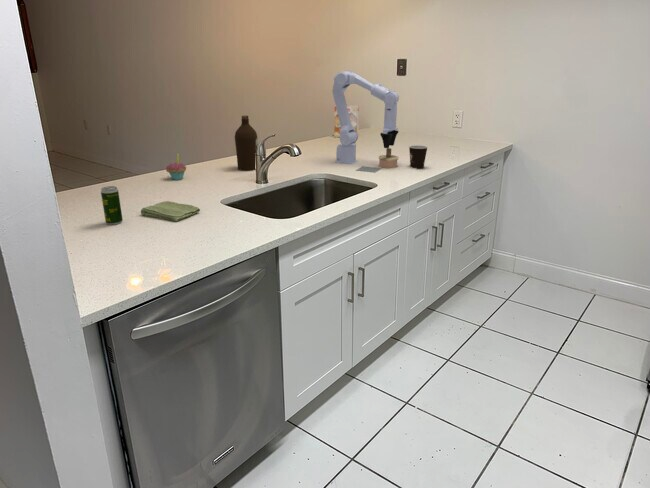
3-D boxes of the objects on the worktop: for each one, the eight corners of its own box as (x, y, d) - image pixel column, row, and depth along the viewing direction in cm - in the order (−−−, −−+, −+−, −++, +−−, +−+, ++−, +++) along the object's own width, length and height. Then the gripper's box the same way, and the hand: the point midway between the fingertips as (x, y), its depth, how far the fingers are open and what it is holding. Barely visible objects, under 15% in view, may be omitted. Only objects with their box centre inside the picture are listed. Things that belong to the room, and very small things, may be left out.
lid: (376, 159, 247) (376, 149, 245) (381, 156, 255) (381, 146, 253) (396, 161, 244) (396, 151, 242) (400, 157, 252) (400, 147, 250)
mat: (355, 171, 241) (355, 170, 241) (362, 167, 250) (362, 166, 250) (375, 173, 238) (375, 172, 237) (382, 169, 246) (382, 168, 246)
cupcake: (190, 177, 230) (188, 150, 226) (179, 181, 223) (177, 154, 218) (174, 175, 233) (171, 149, 228) (163, 180, 225) (160, 153, 221)
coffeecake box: (334, 137, 330) (334, 106, 323) (335, 135, 336) (335, 105, 329) (357, 138, 327) (357, 106, 320) (358, 136, 334) (359, 105, 327)
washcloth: (177, 224, 171) (176, 215, 170) (138, 216, 179) (137, 207, 178) (202, 213, 182) (202, 204, 181) (165, 206, 190) (164, 198, 189)
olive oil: (239, 171, 240) (235, 117, 231) (234, 167, 249) (231, 114, 240) (261, 170, 243) (258, 116, 234) (256, 165, 252) (253, 113, 243)
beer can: (117, 219, 175) (112, 185, 170) (126, 222, 172) (120, 187, 167) (102, 223, 171) (97, 188, 167) (111, 226, 168) (105, 191, 163)
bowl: (376, 167, 249) (377, 159, 247) (382, 164, 256) (382, 156, 255) (393, 169, 245) (394, 161, 244) (398, 165, 253) (399, 157, 251)
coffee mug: (425, 169, 245) (427, 149, 241) (407, 168, 246) (408, 148, 243) (426, 164, 255) (427, 144, 252) (408, 163, 257) (410, 144, 253)
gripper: (393, 120, 235) (392, 150, 239) (402, 116, 247) (401, 144, 252) (379, 119, 237) (378, 148, 242) (388, 116, 250) (387, 143, 254)
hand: (388, 146), depth 247 cm, fingers open, 7 cm apart
